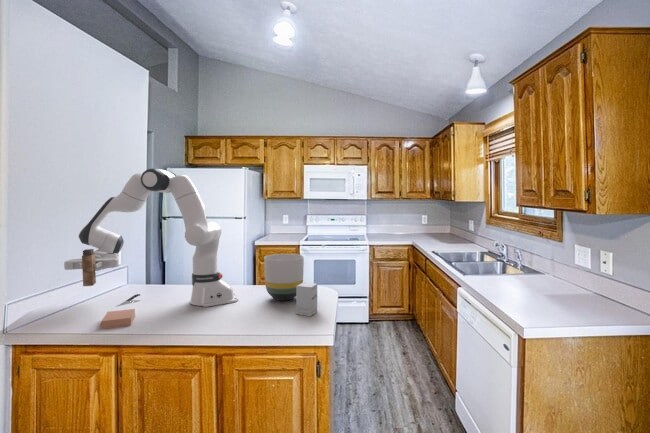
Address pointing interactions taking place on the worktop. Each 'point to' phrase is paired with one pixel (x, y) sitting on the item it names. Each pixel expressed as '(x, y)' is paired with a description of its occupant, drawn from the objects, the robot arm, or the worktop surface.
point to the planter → (283, 275)
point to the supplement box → (306, 298)
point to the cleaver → (130, 300)
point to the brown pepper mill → (88, 267)
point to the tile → (118, 318)
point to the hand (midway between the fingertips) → (88, 266)
